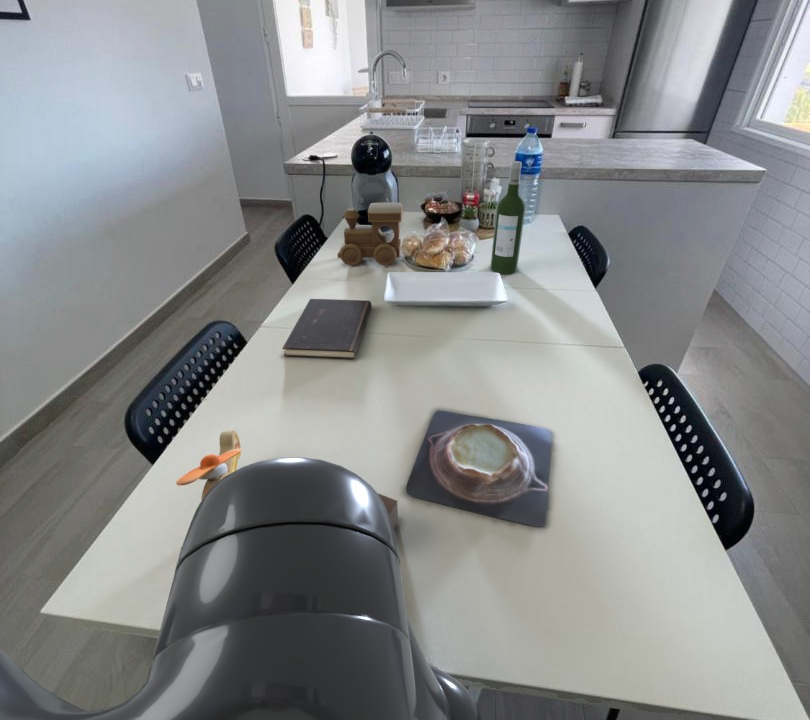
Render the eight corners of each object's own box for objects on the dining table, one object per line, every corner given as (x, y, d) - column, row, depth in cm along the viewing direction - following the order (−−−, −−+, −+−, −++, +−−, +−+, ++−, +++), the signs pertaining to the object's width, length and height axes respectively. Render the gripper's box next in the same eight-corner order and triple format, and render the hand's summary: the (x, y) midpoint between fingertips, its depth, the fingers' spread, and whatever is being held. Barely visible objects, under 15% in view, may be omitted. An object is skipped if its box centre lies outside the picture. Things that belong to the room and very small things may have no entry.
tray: (507, 312, 113) (508, 300, 111) (383, 311, 114) (382, 299, 112) (498, 283, 126) (499, 271, 124) (387, 282, 128) (387, 271, 126)
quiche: (551, 431, 78) (555, 414, 76) (545, 530, 62) (549, 512, 60) (435, 409, 83) (436, 392, 81) (402, 495, 68) (402, 477, 65)
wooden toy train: (404, 253, 146) (403, 201, 136) (402, 267, 136) (401, 212, 127) (343, 253, 146) (337, 201, 137) (337, 267, 137) (331, 212, 127)
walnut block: (381, 552, 60) (380, 530, 57) (350, 538, 62) (346, 516, 59) (398, 522, 64) (397, 500, 61) (367, 510, 66) (365, 488, 63)
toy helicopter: (197, 584, 57) (152, 515, 49) (216, 468, 74) (185, 403, 66) (263, 566, 58) (228, 496, 50) (266, 455, 75) (241, 390, 67)
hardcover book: (284, 356, 98) (282, 347, 97) (311, 306, 117) (310, 298, 116) (355, 359, 97) (354, 350, 96) (371, 308, 116) (371, 300, 114)
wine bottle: (515, 263, 137) (529, 158, 120) (518, 274, 131) (534, 165, 113) (489, 263, 138) (500, 158, 120) (491, 274, 131) (502, 165, 114)
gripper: (359, 541, 50) (277, 457, 60) (251, 630, 42) (178, 517, 53) (363, 577, 54) (286, 493, 64) (266, 663, 47) (197, 553, 57)
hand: (238, 504), depth 59 cm, fingers closed
